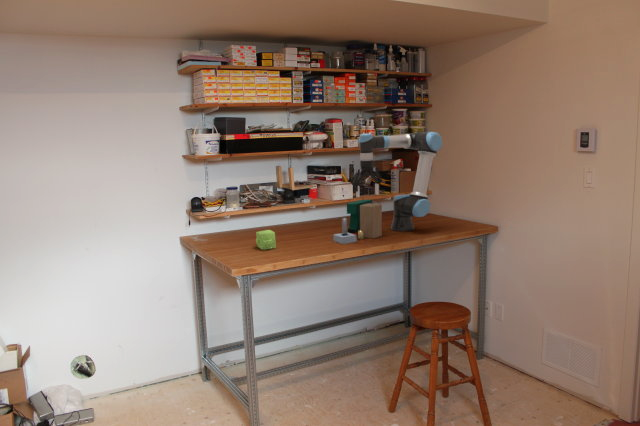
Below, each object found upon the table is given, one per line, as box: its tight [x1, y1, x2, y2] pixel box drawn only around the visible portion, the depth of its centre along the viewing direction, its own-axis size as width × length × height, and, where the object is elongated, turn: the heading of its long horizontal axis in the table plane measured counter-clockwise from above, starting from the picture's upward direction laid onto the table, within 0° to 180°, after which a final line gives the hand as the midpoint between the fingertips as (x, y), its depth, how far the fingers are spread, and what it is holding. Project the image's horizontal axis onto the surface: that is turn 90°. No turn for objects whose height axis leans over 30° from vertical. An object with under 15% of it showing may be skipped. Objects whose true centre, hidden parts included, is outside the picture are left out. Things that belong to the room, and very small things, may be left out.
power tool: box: [346, 198, 376, 236], centre depth 341 cm, size 32×7×20 cm, turn 146°
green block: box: [255, 229, 277, 250], centre depth 300 cm, size 18×10×10 cm, turn 23°
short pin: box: [357, 230, 364, 240], centre depth 318 cm, size 3×3×5 cm
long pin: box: [341, 217, 348, 236], centre depth 311 cm, size 3×3×14 cm
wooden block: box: [360, 203, 383, 239], centre depth 323 cm, size 10×10×20 cm
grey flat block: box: [332, 232, 357, 245], centre depth 312 cm, size 10×10×4 cm
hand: (367, 195), depth 309 cm, fingers open, 13 cm apart
